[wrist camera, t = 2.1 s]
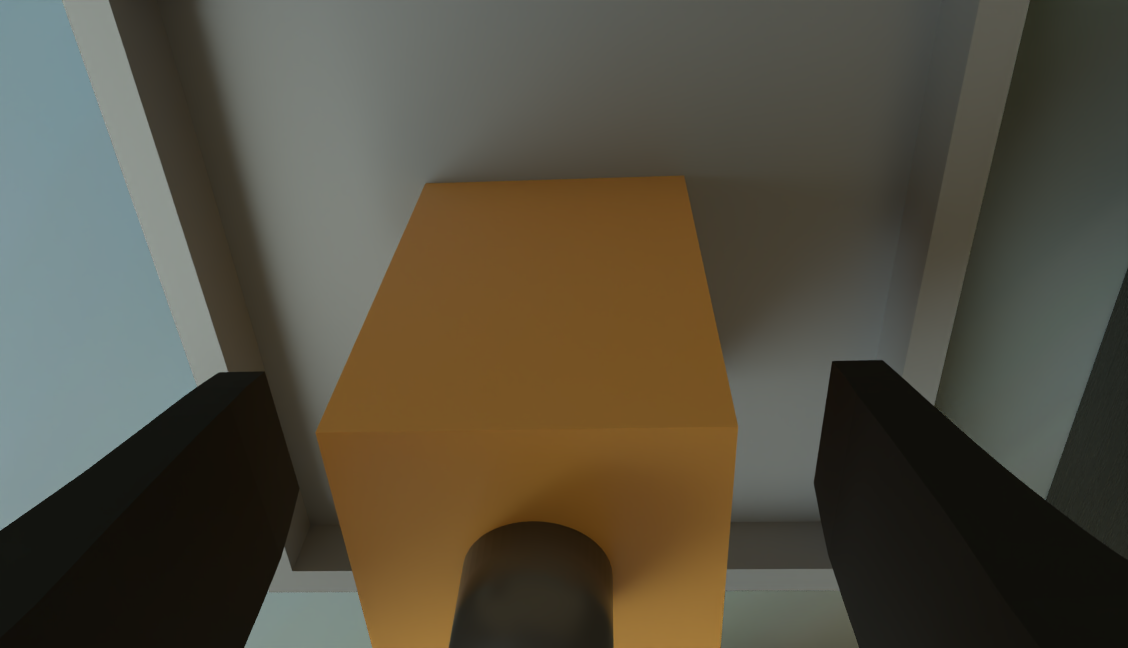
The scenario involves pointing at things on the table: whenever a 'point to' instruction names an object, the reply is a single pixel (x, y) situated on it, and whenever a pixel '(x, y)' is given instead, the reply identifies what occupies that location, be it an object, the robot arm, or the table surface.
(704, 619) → the plug
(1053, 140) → the table surface
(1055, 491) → the open box
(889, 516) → the robot arm
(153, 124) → the tray
